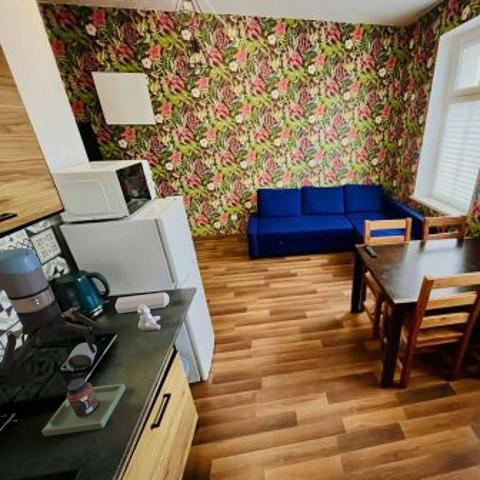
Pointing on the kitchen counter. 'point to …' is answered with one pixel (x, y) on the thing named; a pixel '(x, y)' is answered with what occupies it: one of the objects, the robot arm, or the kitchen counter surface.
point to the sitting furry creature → (147, 319)
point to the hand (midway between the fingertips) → (64, 365)
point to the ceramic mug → (79, 357)
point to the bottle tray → (71, 423)
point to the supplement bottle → (82, 398)
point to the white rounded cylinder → (142, 302)
